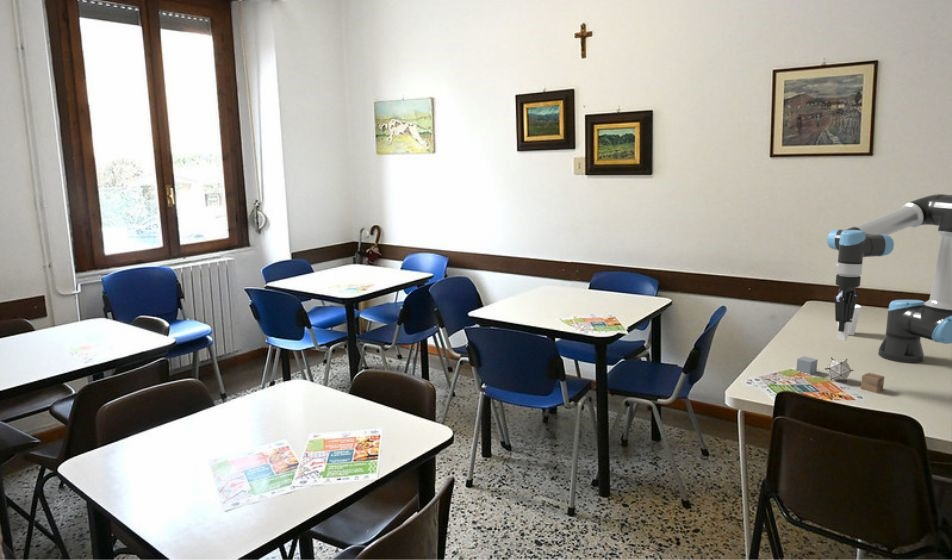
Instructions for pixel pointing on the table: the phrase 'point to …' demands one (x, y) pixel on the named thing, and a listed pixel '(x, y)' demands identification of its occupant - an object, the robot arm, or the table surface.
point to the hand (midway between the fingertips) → (841, 339)
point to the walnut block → (872, 382)
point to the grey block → (807, 365)
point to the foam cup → (854, 320)
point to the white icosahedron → (838, 369)
